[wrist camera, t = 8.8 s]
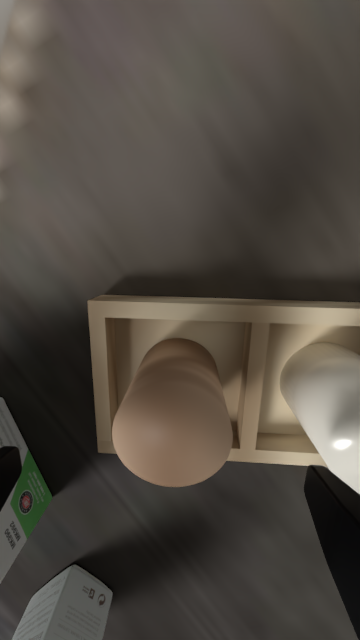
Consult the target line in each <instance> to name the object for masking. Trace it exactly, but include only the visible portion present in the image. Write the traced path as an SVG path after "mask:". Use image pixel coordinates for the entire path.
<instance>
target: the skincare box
mask: <svg viewBox="0 0 360 640" xmlns="http://www.w3.org/2000/svg"><path fill="white" fill-rule="evenodd" d="M112 595H113V593H112V591H111V590H110V589H109V588H108V587H107V586H106V585H105V584H103V583H102V582H101V581H100V580H98V579H97V578H95V577H94V576H92V575H91V574H90V573H88V572H87V571H85V570H84V569H82V568H81V567H79V566H77V565H72V566H70V567H68V568H67V569H66V570H64V571H63V572H61V573H60V574H59V575H57V576H56V577H55V578H53V579H52V580H51V581H49V582H48V583H47V584H46V585H45V586H43V587H42V588H41V589H40V590H39V591H38V592H37V593H35V595H34V596H33V597H32V598H31V600H30V602H29V604H28V606H27V608H26V611H25V613H24V615H23V617H22V619H21V621H20V623H19V625H18V628H17V630H16V632H15V634H14V636H13V638H12V640H102V639H103V634H104V630H105V626H106V622H107V617H108V613H109V609H110V605H111V600H112Z"/></svg>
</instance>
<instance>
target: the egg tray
mask: <svg viewBox="0 0 360 640" xmlns="http://www.w3.org/2000/svg"><path fill="white" fill-rule="evenodd" d="M87 303H88V317H89V331H90V345H91V359H92V373H93V387H94V402H95V416H96V430H97V444H98V453H112V454H117V452H116V450H115V448H114V444H113V439H112V426H113V421H114V418H115V415H116V413H117V411H118V409H119V407H120V405H121V403H122V401H123V399H124V397H125V395H126V393H127V391H128V389H129V387H130V384H131V382H132V380H133V378H134V376H135V374H136V372H137V370H138V368H139V366H140V364H141V362H142V360H143V358H144V356H145V355H146V353H147V352H148V351H149V350H150V349H151V348H152V347H153V346H154V345H156V344H157V343H159V342H161V341H164V340H167V339H172V338H184V339H189V340H192V341H195V342H197V343H199V344H200V345H202V346H203V347H205V348H206V349H207V350H208V351H209V353H210V354H211V355H212V357H213V358H214V360H215V363H216V366H217V369H218V373H219V378H220V382H221V386H222V390H223V394H224V398H225V402H226V406H227V410H228V414H229V418H230V422H231V426H232V433H233V442H232V448H231V451H230V454H229V456H228V458H227V460H226V461H240V462H256V463H272V464H288V465H304V466H309V465H322V466H325V467H328V466H327V465H326V463H325V461H324V460H323V458H322V457H321V455H320V454H319V452H318V451H317V449H316V448H315V446H314V444H313V443H312V441H311V440H310V438H309V437H308V435H307V434H306V432H305V431H304V429H303V427H302V426H301V424H300V423H299V421H298V420H297V418H296V417H295V415H294V414H293V412H292V410H291V409H290V407H289V406H288V404H287V403H286V401H285V400H284V398H283V396H282V394H281V391H280V384H279V382H280V375H281V371H282V369H283V367H284V365H285V363H286V362H287V360H288V359H289V358H290V357H291V356H292V355H293V354H294V353H295V352H297V351H298V350H300V349H302V348H304V347H306V346H308V345H311V344H315V343H321V342H330V343H336V344H340V345H342V346H344V347H346V348H348V349H350V350H352V351H353V352H355V353H357V354H359V355H360V302H333V301H300V300H266V299H232V298H198V297H165V296H131V295H100V296H98V297H95V298H93V299H90V300H87Z"/></svg>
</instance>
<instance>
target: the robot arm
mask: <svg viewBox="0 0 360 640" xmlns="http://www.w3.org/2000/svg"><path fill="white" fill-rule="evenodd" d="M21 472H22V463H21V457H20V451H19V448H18V447H16V446H3V447H1V448H0V512H1V510H2V508H3V506H4V504H5V503H6V501H7V499H8V497H9V495H10V494H11V492H12V490H13V488H14V486H15V485H16V483H17V481H18V479H19V477H20V475H21ZM304 492H305V497H306V500H307V503H308V506H309V509H310V512H311V515H312V518H313V522H314V525H315V528H316V531H317V534H318V537H319V540H320V544H321V547H322V550H323V553H324V556H325V558H326V561H327V564H328V566H329V569H330V571H331V574H332V576H333V579H334V581H335V584H336V586H337V588H338V591H339V593H340V596H341V598H342V601H343V603H344V605H345V608H346V610H347V613H348V615H349V618H350V620H351V622H352V625H353V627H354V630H355V632H356V635H357V637H358V639H359V640H360V494H358V493H357V492H356V491H355V490H353V489H352V488H351V487H350V486H348V485H347V484H346V483H345V482H344V481H342V480H341V479H340V478H339V477H337V476H336V475H335V474H334V473H332V472H331V471H330V470H329V469H327V468H326V467H325V466H322V465H309V466H308V468H307V473H306V478H305V484H304Z"/></svg>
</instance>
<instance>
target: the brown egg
mask: <svg viewBox="0 0 360 640" xmlns="http://www.w3.org/2000/svg"><path fill="white" fill-rule="evenodd" d="M112 439H113V444H114V448H115V450H116V452H117V455H118V456H119V458H120V460H121V461H122V462H123V464H124V465H125V466H126V467H127V468H128V469H129V470H130V471H131V472H133V473H134V474H135V475H137V476H138V477H140V478H142V479H144V480H146V481H148V482H151V483H153V484H157V485H161V486H168V487H182V486H189V485H193V484H196V483H199V482H201V481H204V480H206V479H207V478H209V477H211V476H212V475H213V474H215V473H216V472H217V471H218V470H219V469H220V468H221V467H222V466H223V464H224V463H225V462H226V460H227V458H228V456H229V454H230V451H231V448H232V442H233V433H232V426H231V422H230V418H229V414H228V410H227V406H226V402H225V398H224V394H223V390H222V386H221V382H220V378H219V373H218V369H217V366H216V363H215V360H214V358H213V357H212V355H211V354H210V353H209V351H208V350H207V349H206V348H205V347H203V346H202V345H200V344H199V343H197V342H195V341H192V340H189V339H184V338H172V339H167V340H164V341H161V342H159V343H157V344H156V345H154V346H153V347H152V348H151V349H150V350H149V351H148V352H147V353H146V355H145V356H144V358H143V360H142V362H141V364H140V366H139V368H138V370H137V372H136V374H135V376H134V378H133V380H132V382H131V384H130V387H129V389H128V391H127V393H126V395H125V397H124V399H123V401H122V403H121V405H120V407H119V409H118V411H117V413H116V415H115V418H114V421H113V426H112Z"/></svg>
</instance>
